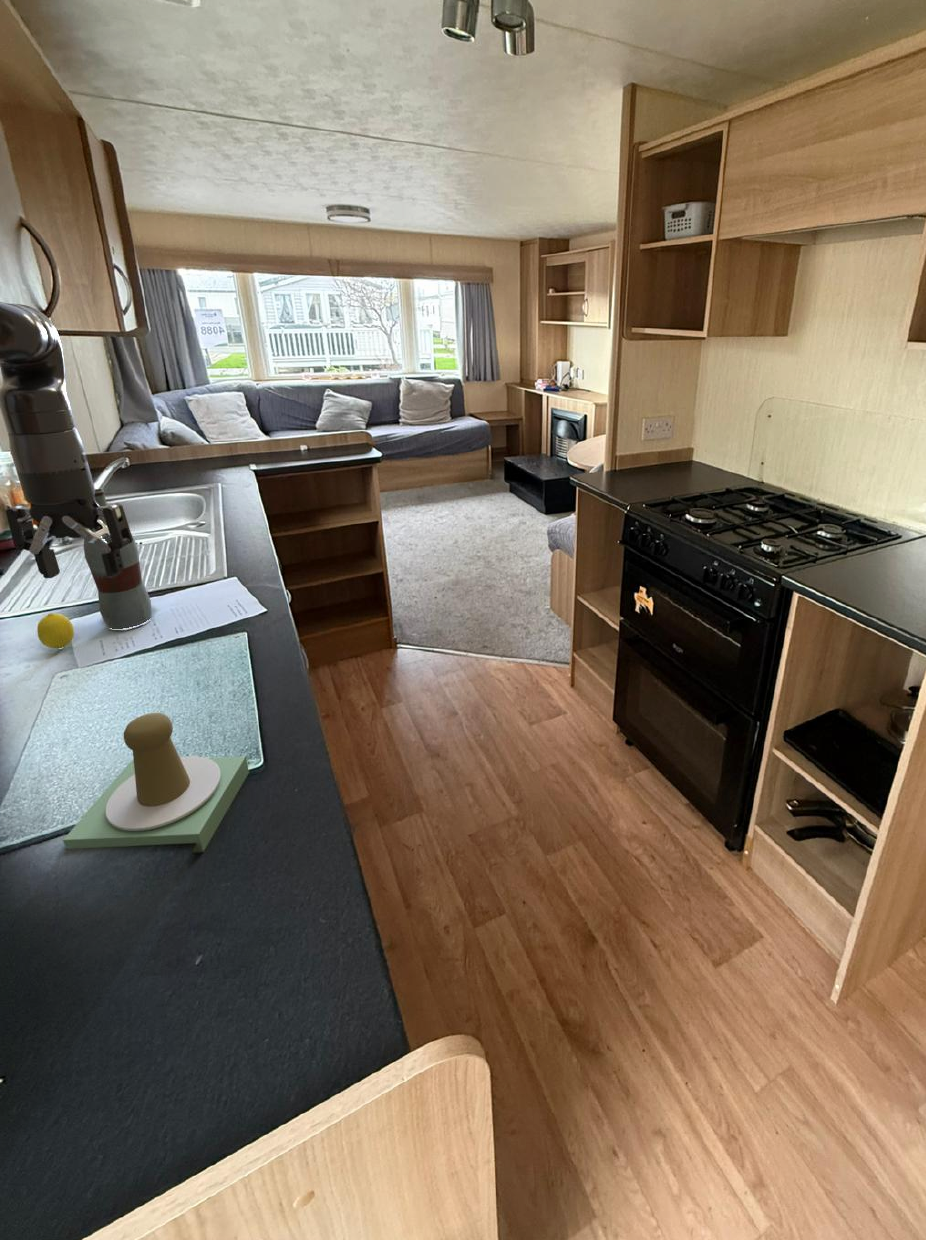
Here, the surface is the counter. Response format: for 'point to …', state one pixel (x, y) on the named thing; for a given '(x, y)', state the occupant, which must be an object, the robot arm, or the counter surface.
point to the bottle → (119, 583)
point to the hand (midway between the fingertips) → (84, 575)
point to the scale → (163, 808)
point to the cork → (155, 760)
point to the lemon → (55, 630)
